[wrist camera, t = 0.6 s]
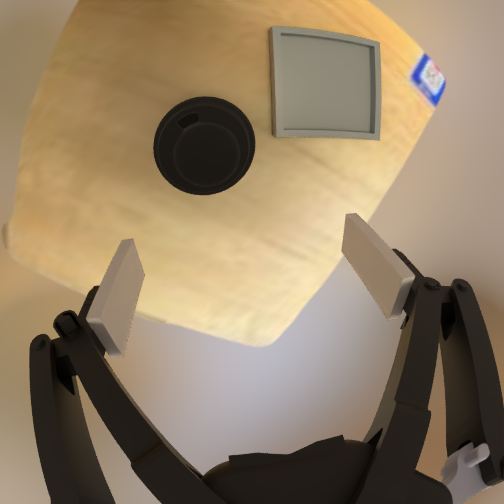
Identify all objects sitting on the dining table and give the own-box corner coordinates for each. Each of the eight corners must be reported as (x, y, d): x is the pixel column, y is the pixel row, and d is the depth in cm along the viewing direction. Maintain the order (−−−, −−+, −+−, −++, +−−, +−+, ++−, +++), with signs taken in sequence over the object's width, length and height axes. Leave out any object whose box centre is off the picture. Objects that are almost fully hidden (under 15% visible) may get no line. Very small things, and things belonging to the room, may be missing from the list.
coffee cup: (201, 87, 31) (192, 75, 18) (255, 126, 35) (280, 139, 22) (160, 142, 34) (129, 165, 21) (214, 177, 38) (215, 219, 25)
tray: (268, 30, 27) (272, 25, 25) (371, 44, 29) (379, 42, 27) (272, 135, 36) (276, 137, 34) (371, 137, 37) (379, 140, 35)
